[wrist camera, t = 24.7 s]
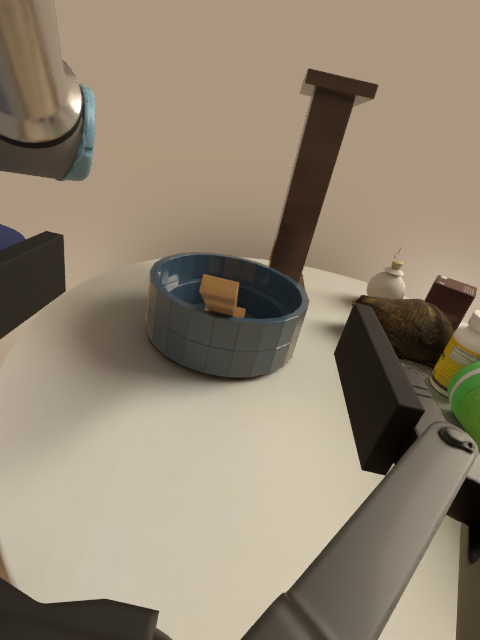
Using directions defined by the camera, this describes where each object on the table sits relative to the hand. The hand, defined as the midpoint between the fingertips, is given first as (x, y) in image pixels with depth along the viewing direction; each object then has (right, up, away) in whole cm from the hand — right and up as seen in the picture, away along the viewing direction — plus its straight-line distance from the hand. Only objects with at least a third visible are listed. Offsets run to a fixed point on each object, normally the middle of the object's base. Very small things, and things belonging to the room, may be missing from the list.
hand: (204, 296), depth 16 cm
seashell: (+24, -5, +34) cm, 42 cm away
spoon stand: (+8, +4, +42) cm, 43 cm away
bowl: (-1, -3, +27) cm, 27 cm away
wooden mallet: (0, -1, +17) cm, 17 cm away
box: (+34, -2, +43) cm, 55 cm away
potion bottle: (+26, +2, +46) cm, 53 cm away
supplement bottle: (+27, -10, +27) cm, 39 cm away
